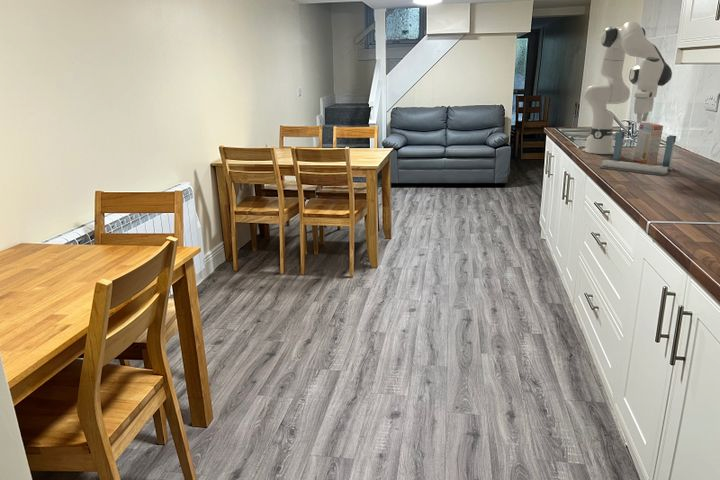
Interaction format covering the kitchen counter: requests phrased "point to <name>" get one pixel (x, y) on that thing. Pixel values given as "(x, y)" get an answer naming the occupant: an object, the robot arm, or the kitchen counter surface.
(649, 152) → the cracker box
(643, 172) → the mat
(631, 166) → the rail
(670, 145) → the rack
